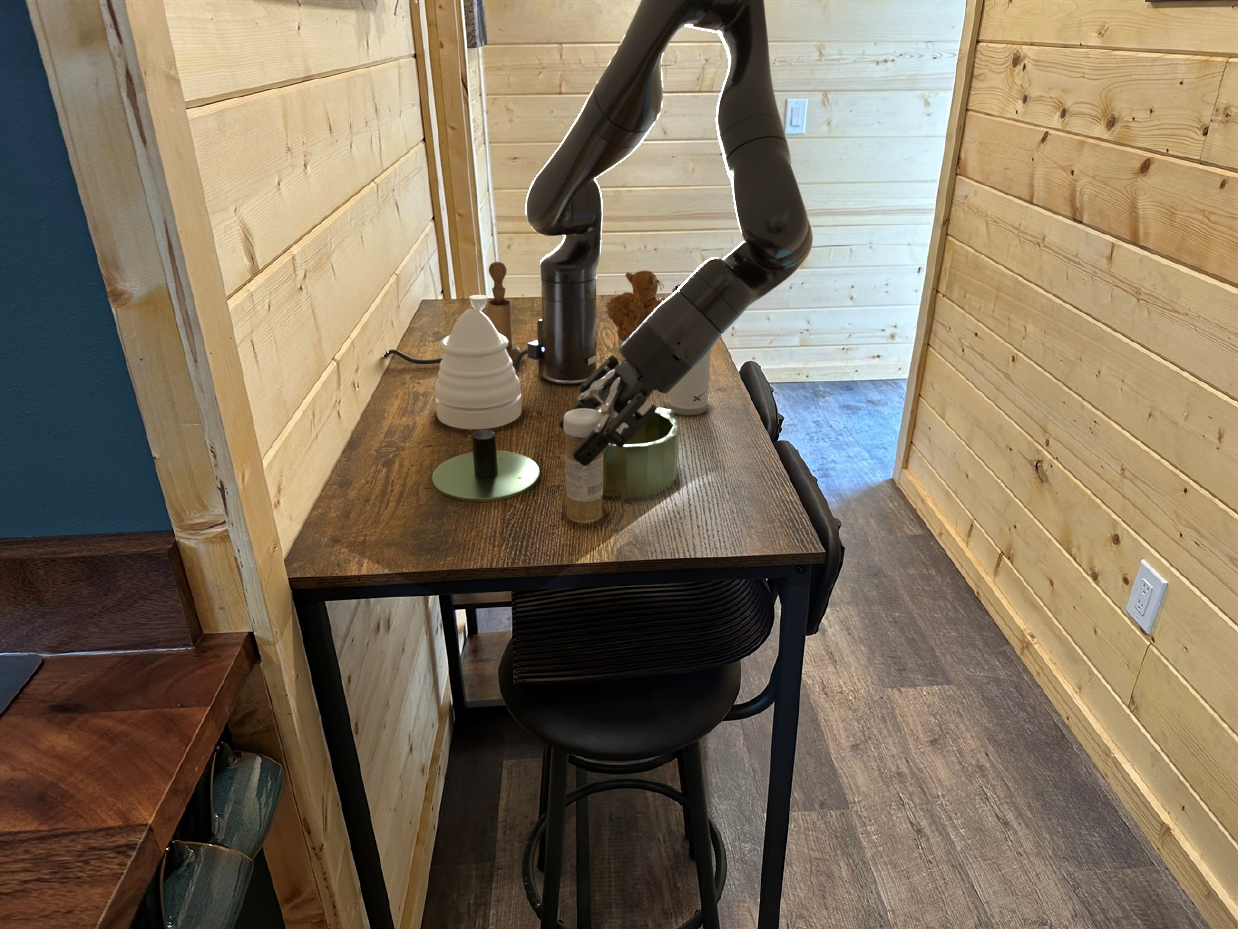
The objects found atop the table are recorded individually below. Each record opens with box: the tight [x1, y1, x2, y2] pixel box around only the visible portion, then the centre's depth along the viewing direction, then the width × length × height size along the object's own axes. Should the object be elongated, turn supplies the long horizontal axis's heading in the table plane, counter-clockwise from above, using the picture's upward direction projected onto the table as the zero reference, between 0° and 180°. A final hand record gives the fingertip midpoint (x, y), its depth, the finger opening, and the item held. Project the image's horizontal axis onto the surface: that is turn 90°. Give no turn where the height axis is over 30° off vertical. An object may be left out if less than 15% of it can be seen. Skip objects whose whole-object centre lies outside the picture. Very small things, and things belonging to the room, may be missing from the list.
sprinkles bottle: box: [563, 408, 604, 524], centre depth 96 cm, size 5×5×13 cm
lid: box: [431, 429, 541, 503], centre depth 106 cm, size 14×14×7 cm
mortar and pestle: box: [487, 261, 522, 365], centre depth 145 cm, size 7×6×18 cm
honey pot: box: [433, 294, 523, 430], centre depth 123 cm, size 13×13×18 cm
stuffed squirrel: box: [604, 269, 666, 343], centre depth 159 cm, size 10×14×13 cm
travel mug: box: [666, 283, 712, 416], centre depth 126 cm, size 6×7×20 cm
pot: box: [597, 406, 680, 498], centre depth 108 cm, size 13×18×7 cm
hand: (570, 444), depth 95 cm, fingers open, 8 cm apart
